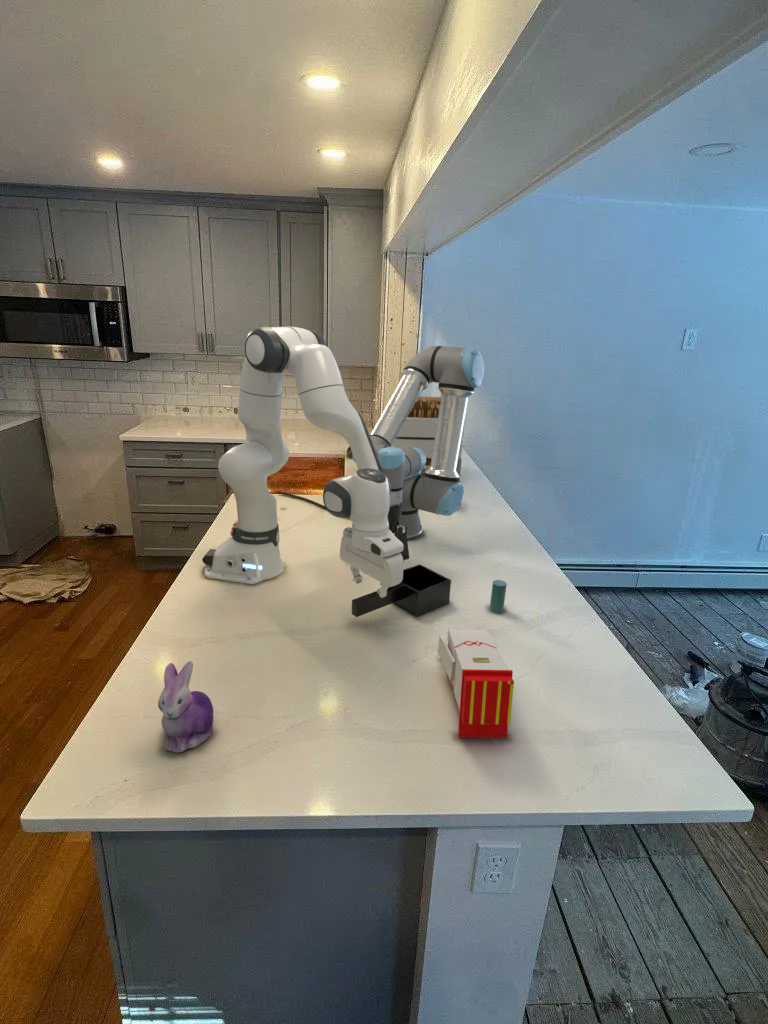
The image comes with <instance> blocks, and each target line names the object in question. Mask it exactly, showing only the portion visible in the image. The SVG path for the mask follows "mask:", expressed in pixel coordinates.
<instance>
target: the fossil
mask: <svg viewBox="0 0 768 1024" xmlns="http://www.w3.org/2000/svg"><path fill="white" fill-rule="evenodd" d="M345 455H346V457H347V458H350V459H351V458H352V459H353V457H352V451H351V448H350V446H349V445H348V447H347V449H346V454H345Z"/></svg>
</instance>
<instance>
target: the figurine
mask: <svg viewBox="0 0 768 1024" xmlns="http://www.w3.org/2000/svg"><path fill="white" fill-rule="evenodd" d="M193 669H194V662H193V661H191V660H190V661H188V662H186V663H185V664H184V665H183V667H182V668H181V669H180V671H179V672H178V671H177V668H176V666H175V664H174V663H173V662H169V663H168V664H167V665H166V666H165V670H164V672H163V684H164V687H163V690H162V691H161V693H160V695H159V698H158V702H157V706H158V709H159V711H160V712H161V713H162V717H161V726H162V729H163V731H164V734H165V740H164V749H165V750H166V751H169V752H172V753H183V752H184V751H186V750H188V749H194V748H196V747H198V746H200V745H201V744H203V743H204V742H205V741H206V740H207V739H208V738H209V737H211V736H212V733H213V725H214V724H213V723H214V706H213V703H212V701H211V698H210V697H209V696H208V695H207V694H206V693H205V692H203V691H200V690H192V691H191V690H190V688H189V684H190V681H191V679H192V674H193Z"/></svg>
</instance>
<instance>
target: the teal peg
mask: <svg viewBox="0 0 768 1024" xmlns="http://www.w3.org/2000/svg"><path fill="white" fill-rule="evenodd" d="M491 587H492V588H491V593H490V594H491V595H490V602H489V611H490V612H492V613H495V614H500V613H503V612H504V609H505V608H504V607H505V601H506V592H507V582H506V581H505V580H502V579H495V580H493V581H492V585H491Z"/></svg>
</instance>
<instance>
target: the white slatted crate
mask: <svg viewBox="0 0 768 1024" xmlns="http://www.w3.org/2000/svg"><path fill="white" fill-rule="evenodd" d="M440 393H441V392H440ZM441 397H442V393H441V394H440V396H418V398H417V400H416V402H415V404H414V406H413V407H412V409H411V411H410V413H409V415H408V417H407V418H406V420H405V422H404V424H403V426H402V427H401V429H400V431H399V433H398V435H397V437H396V438H395V440H394V442H393V444H392V446H391V447H397V448H402V449H408V448H419V449H421V450H422V451H423V452H424V454H425V456H426V465H425V467H430V466H431V459H432V453H433V447H434V441H435V434H436V428H437V422H438V416H439V409H440V403H441ZM464 422H465V420H464ZM464 429H465V425H464V426H463V432H462V438H461V444H460V450H459V456H458V462H457V468H456V472H457V473H458V475H459V476H460V477H459V482H460V483H461V472H462V461H463V460H462V453H463V442H464V441H463V440H462V439H463V438H464V431H465V430H464Z"/></svg>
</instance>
